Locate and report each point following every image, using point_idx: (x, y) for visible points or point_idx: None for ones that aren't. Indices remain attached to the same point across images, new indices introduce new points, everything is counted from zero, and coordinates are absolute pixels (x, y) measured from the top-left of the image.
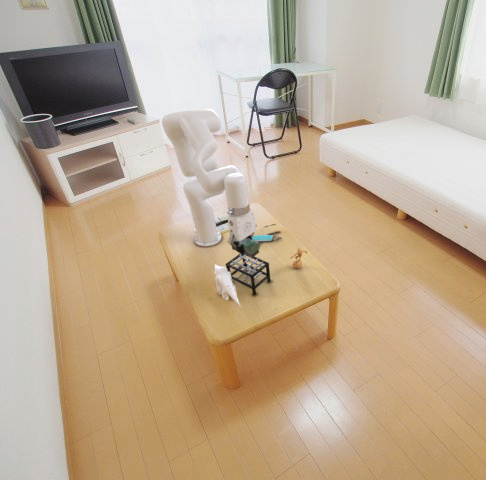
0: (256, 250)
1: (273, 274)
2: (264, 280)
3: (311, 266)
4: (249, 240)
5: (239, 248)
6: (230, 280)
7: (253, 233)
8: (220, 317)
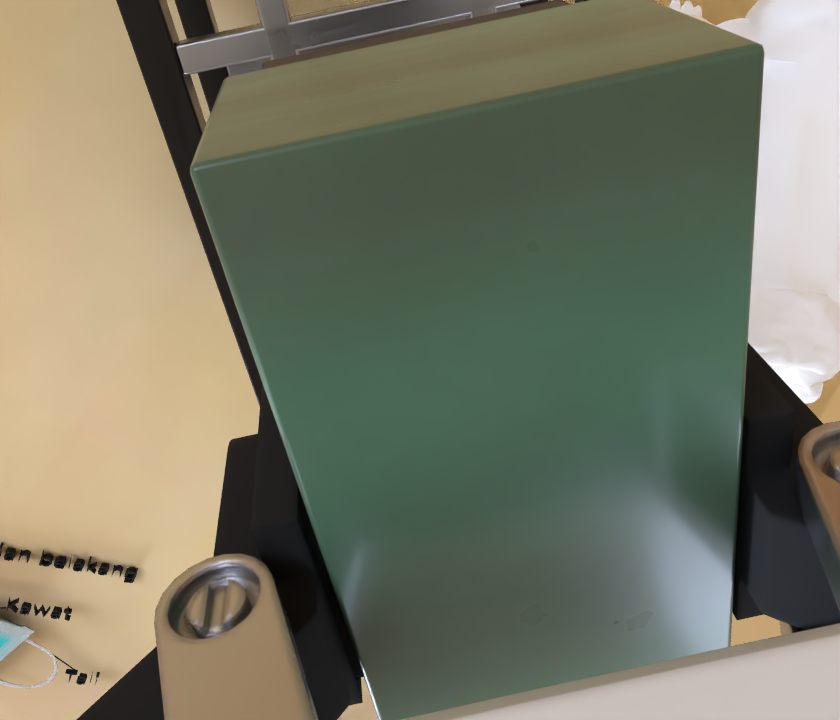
0: (386, 46)
1: (57, 6)
2: None
3: None
4: (422, 494)
5: (793, 400)
6: (779, 116)
7: (98, 706)
8: None
